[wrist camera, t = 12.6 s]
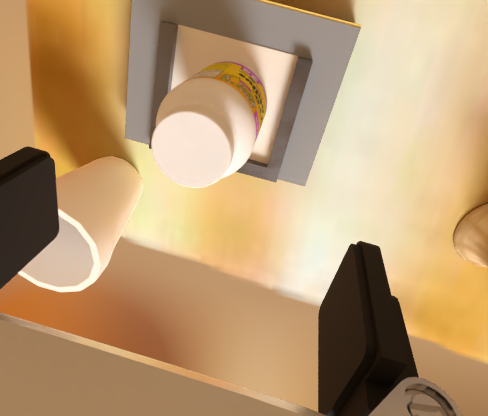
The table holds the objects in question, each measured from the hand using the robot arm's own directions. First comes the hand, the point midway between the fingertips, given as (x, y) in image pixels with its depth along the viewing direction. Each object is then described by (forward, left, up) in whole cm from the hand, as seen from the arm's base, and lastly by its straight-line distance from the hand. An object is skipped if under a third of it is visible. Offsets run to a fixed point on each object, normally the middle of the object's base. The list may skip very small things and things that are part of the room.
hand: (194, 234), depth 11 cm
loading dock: (+3, +1, -26) cm, 26 cm away
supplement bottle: (+3, +2, -23) cm, 23 cm away
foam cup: (+14, +15, -26) cm, 33 cm away
